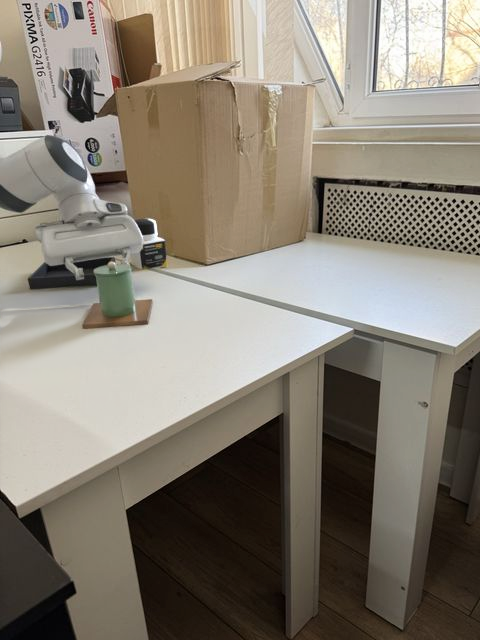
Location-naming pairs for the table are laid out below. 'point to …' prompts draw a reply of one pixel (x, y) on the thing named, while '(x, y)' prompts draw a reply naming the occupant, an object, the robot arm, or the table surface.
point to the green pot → (115, 289)
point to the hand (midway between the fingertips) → (104, 274)
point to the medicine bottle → (149, 247)
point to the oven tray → (66, 274)
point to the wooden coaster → (136, 318)
